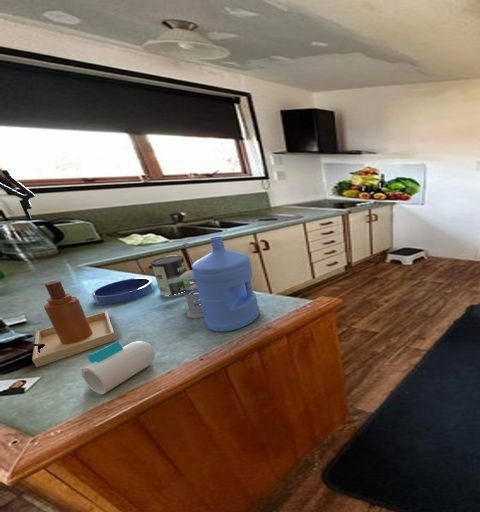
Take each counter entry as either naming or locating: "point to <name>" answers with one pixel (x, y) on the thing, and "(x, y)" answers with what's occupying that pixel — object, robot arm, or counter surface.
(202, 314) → the french press
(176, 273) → the coffee can
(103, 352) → the mug
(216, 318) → the water jug
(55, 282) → the bottle
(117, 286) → the bowl
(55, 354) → the tray
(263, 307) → the counter surface
